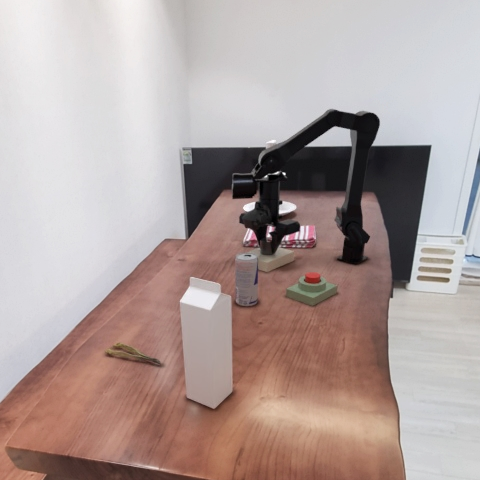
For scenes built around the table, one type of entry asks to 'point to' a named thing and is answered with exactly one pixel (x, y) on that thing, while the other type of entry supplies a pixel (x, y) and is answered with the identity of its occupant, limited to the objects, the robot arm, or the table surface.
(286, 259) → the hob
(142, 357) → the dried herb bundle
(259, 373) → the table surface
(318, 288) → the button base
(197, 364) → the milk
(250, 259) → the energy drink
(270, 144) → the candlestick
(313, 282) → the button
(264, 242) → the knob
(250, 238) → the dish towel
